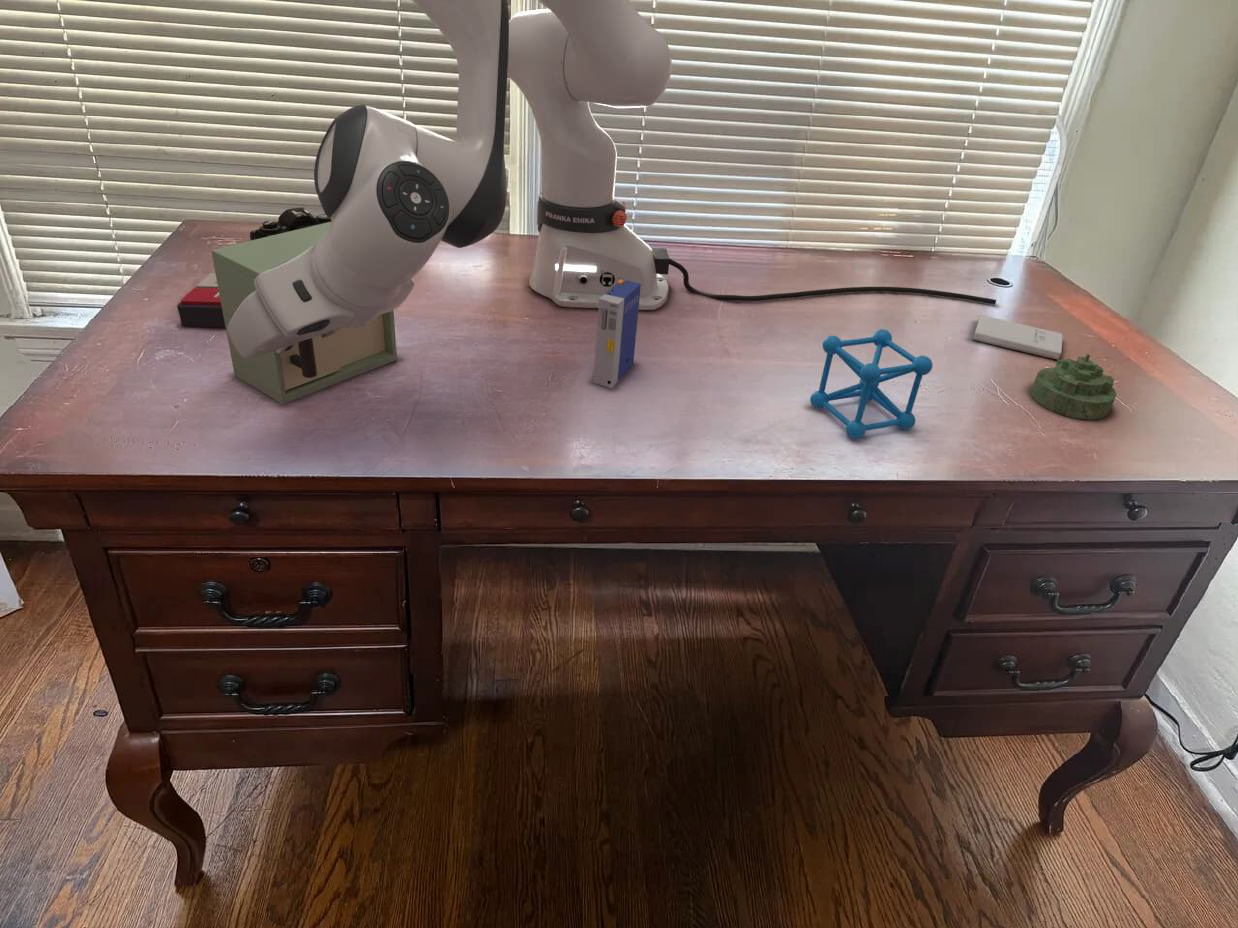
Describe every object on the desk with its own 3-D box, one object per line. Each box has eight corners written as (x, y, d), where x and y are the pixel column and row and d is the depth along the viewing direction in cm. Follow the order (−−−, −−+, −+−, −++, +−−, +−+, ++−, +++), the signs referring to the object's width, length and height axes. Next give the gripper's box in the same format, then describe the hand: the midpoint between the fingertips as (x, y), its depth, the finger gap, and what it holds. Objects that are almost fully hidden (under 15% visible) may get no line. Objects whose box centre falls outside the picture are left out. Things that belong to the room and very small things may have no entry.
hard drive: (977, 323, 139) (1059, 341, 135) (972, 341, 133) (1058, 361, 129) (980, 313, 138) (1063, 332, 134) (975, 331, 132) (1062, 351, 128)
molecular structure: (851, 444, 104) (870, 370, 98) (805, 404, 111) (820, 333, 106) (916, 431, 108) (939, 359, 102) (867, 394, 115) (886, 325, 110)
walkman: (614, 360, 118) (621, 276, 111) (633, 364, 117) (641, 280, 111) (591, 383, 112) (597, 296, 105) (611, 388, 111) (618, 301, 104)
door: (361, 380, 105) (350, 275, 98) (304, 402, 100) (289, 293, 92) (338, 368, 107) (326, 264, 100) (282, 389, 102) (265, 281, 95)
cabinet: (397, 360, 113) (388, 241, 104) (282, 404, 101) (262, 275, 93) (349, 335, 118) (337, 220, 109) (234, 375, 106) (210, 249, 98)
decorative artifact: (1089, 387, 122) (1020, 381, 122) (1109, 342, 119) (1037, 335, 118) (1121, 422, 114) (1047, 416, 114) (1143, 375, 110) (1066, 368, 110)
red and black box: (206, 270, 123) (312, 273, 124) (213, 299, 126) (317, 301, 126) (173, 300, 114) (288, 303, 114) (182, 330, 117) (293, 333, 117)
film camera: (325, 245, 145) (318, 186, 140) (375, 265, 140) (370, 204, 134) (230, 272, 133) (218, 208, 127) (280, 295, 127) (270, 228, 122)
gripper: (412, 232, 95) (363, 290, 105) (241, 278, 81) (203, 340, 91) (441, 283, 95) (389, 336, 105) (276, 337, 81) (234, 392, 91)
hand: (302, 338), depth 98 cm, fingers open, 4 cm apart
